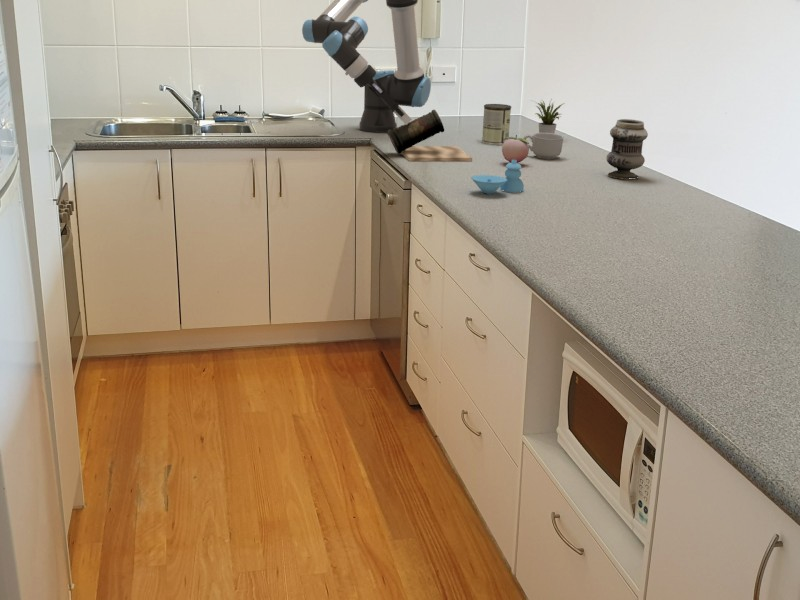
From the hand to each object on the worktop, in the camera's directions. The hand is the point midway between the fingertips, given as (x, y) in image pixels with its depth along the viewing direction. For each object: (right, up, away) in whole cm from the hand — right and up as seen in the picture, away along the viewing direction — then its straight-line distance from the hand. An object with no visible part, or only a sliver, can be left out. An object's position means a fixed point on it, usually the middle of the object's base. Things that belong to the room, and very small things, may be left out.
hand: (408, 122), depth 312 cm
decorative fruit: (+36, -15, -4) cm, 39 cm away
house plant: (+54, +2, +48) cm, 72 cm away
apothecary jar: (+70, -21, -16) cm, 75 cm away
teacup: (+47, -10, +11) cm, 50 cm away
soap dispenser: (+26, -30, -45) cm, 60 cm away
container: (-6, -7, +3) cm, 9 cm away
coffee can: (+33, -1, +37) cm, 50 cm away
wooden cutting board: (+9, -10, +7) cm, 15 cm away
